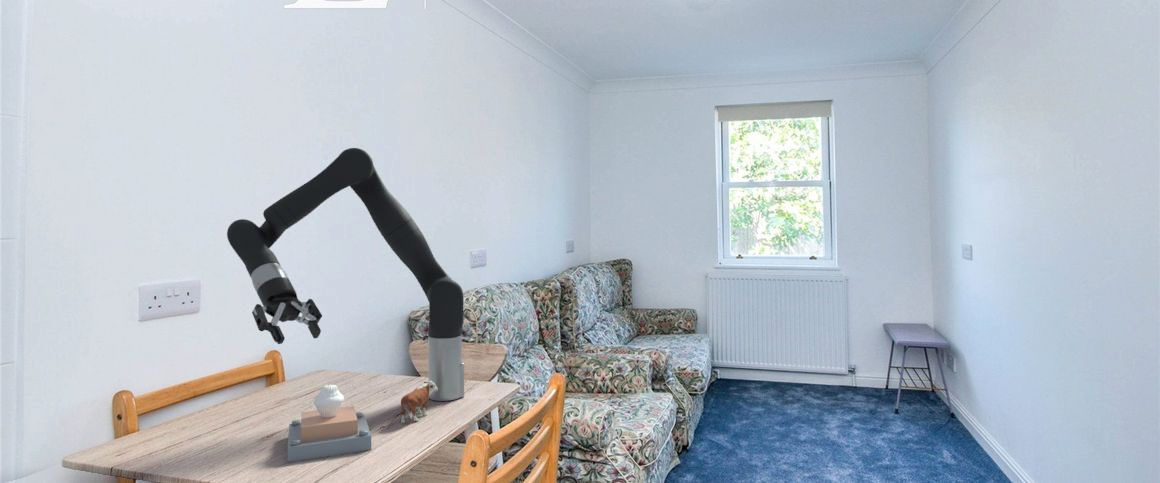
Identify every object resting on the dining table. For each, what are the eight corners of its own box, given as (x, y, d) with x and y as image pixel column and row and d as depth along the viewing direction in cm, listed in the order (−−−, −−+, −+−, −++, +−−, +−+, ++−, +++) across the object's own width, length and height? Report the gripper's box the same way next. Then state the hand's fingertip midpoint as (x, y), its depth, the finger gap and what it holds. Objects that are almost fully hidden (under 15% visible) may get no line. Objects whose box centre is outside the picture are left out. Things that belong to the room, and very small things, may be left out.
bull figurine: (440, 410, 153) (440, 379, 153) (409, 426, 140) (409, 392, 140) (426, 408, 154) (426, 377, 154) (394, 424, 142) (394, 391, 142)
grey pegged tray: (364, 426, 140) (364, 401, 140) (371, 449, 126) (371, 421, 125) (289, 437, 133) (289, 410, 133) (287, 462, 119) (287, 432, 119)
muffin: (313, 413, 131) (313, 382, 131) (342, 409, 134) (342, 379, 133) (314, 421, 125) (314, 389, 125) (345, 417, 128) (345, 385, 128)
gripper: (248, 277, 134) (275, 333, 128) (307, 274, 146) (335, 324, 140) (237, 299, 137) (263, 354, 131) (296, 294, 149) (322, 344, 143)
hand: (300, 338), depth 135 cm, fingers open, 8 cm apart
